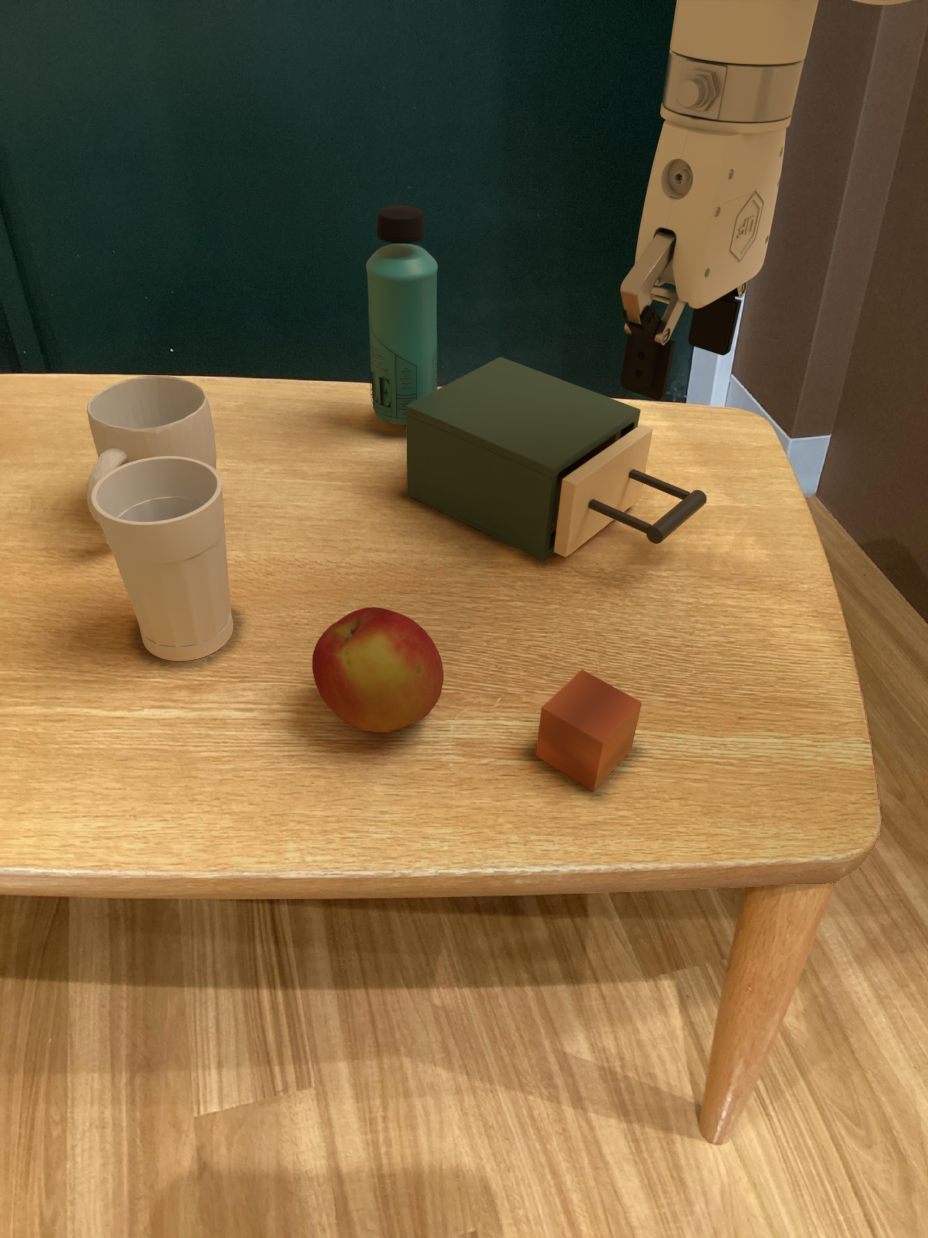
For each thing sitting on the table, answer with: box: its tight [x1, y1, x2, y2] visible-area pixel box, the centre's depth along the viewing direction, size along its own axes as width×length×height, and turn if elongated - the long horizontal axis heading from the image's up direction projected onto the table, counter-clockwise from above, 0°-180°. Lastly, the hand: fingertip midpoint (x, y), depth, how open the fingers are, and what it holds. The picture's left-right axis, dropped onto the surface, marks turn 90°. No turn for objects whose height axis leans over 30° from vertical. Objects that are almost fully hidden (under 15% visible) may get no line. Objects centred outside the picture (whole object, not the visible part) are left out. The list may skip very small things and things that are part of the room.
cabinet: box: [405, 356, 642, 562], centre depth 78 cm, size 15×13×9 cm
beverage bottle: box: [365, 204, 440, 426], centre depth 84 cm, size 6×7×20 cm
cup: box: [91, 456, 234, 662], centre depth 62 cm, size 8×8×12 cm
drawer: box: [551, 424, 708, 558], centre depth 75 cm, size 20×11×7 cm, turn 51°
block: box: [535, 669, 643, 792], centre depth 57 cm, size 4×4×4 cm
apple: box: [311, 606, 445, 733], centre depth 58 cm, size 8×8×8 cm
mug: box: [85, 375, 217, 525], centre depth 73 cm, size 13×9×10 cm
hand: (676, 369), depth 65 cm, fingers open, 8 cm apart
